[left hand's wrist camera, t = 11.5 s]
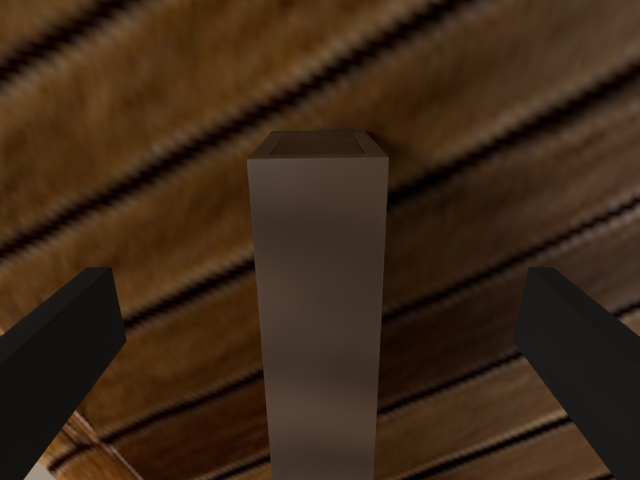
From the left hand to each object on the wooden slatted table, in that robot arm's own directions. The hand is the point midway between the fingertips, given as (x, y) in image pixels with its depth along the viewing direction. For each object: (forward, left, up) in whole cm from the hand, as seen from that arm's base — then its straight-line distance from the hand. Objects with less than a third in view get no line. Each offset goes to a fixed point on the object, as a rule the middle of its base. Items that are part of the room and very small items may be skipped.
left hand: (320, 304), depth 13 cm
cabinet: (+3, +6, -14) cm, 16 cm away
